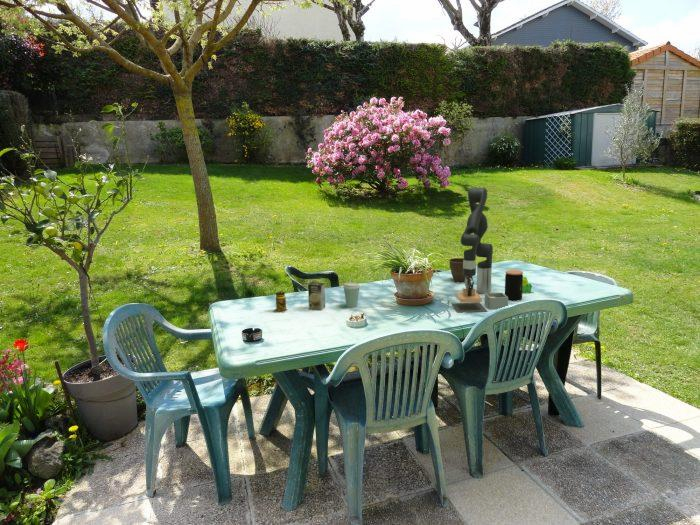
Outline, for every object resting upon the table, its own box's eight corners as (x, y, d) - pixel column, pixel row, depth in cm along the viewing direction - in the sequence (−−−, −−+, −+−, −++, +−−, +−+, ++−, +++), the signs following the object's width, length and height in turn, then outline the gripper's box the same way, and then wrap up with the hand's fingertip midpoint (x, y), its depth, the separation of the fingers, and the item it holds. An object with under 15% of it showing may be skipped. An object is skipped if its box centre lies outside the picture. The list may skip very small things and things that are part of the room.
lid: (456, 296, 310) (456, 286, 309) (476, 296, 310) (476, 286, 309) (460, 302, 298) (460, 292, 297) (481, 302, 298) (482, 291, 297)
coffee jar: (523, 301, 314) (524, 273, 310) (505, 301, 316) (506, 273, 312) (520, 296, 324) (522, 269, 320) (503, 296, 326) (504, 269, 322)
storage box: (484, 303, 312) (485, 293, 310) (502, 303, 312) (502, 292, 310) (489, 309, 301) (489, 298, 299) (507, 308, 301) (508, 297, 299)
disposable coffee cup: (352, 302, 324) (351, 280, 321) (364, 305, 316) (363, 282, 313) (340, 306, 316) (339, 283, 313) (352, 309, 309) (351, 286, 306)
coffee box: (308, 309, 313) (307, 284, 310) (312, 306, 319) (311, 281, 315) (322, 310, 310) (320, 285, 307) (325, 307, 316) (324, 282, 312)
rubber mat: (451, 303, 314) (451, 303, 314) (479, 302, 314) (479, 302, 314) (457, 312, 297) (457, 312, 296) (487, 311, 297) (487, 311, 296)
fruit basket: (529, 290, 338) (530, 274, 336) (532, 294, 330) (533, 277, 327) (512, 290, 339) (512, 274, 337) (515, 294, 331) (515, 277, 328)
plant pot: (471, 283, 359) (472, 262, 356) (451, 284, 360) (451, 262, 356) (467, 278, 374) (467, 257, 371) (447, 279, 374) (447, 258, 371)
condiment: (284, 312, 308) (282, 294, 305) (271, 312, 310) (270, 293, 308) (288, 309, 315) (287, 290, 312) (276, 308, 317) (275, 290, 315)
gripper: (460, 264, 307) (460, 292, 310) (465, 270, 293) (465, 298, 297) (472, 264, 307) (472, 291, 310) (478, 269, 293) (478, 298, 297)
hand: (468, 294), depth 304 cm, fingers closed on lid, 3 cm apart
